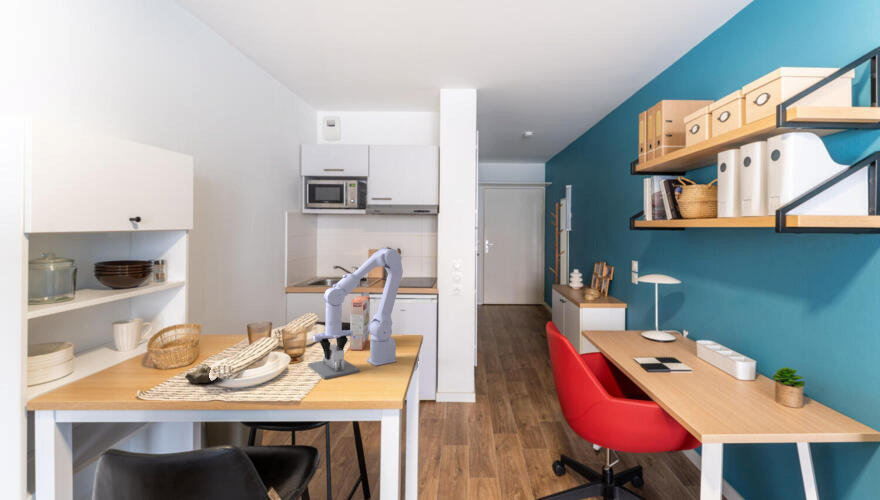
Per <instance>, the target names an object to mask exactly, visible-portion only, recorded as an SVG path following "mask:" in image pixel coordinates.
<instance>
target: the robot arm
mask: <svg viewBox="0 0 880 500" xmlns="http://www.w3.org/2000/svg"><path fill="white" fill-rule="evenodd" d="M402 258H403V257H402V256H401V254H400V252H399V251H398V250H397V249H395V248H387V247H380V248H379V249H378V250H377V251H375V252H374V253H373V254H371V256H370V257H369V258H368V259H367V260H366V261H365V262H363V263H362V264H361V265H360V266H359V267H358V268H357V269H356V270H355V271H354V272H353V273H346V274H344V275H342V278H341V279H340V280H339V281H338V282H336V283H334V284H333V285H332V287H329V288H328V289H326V290H325V291H324V294H323V296H322V297H323V299H324V301H325V324H324V325H325V326H324V327H325V332H323V333H322V332H320V333H318V334H313V335H312V341H313V342H315V343H316V342H319V344H320V345H321V348H322V350H323V353H324V354H325V359H327V360H329V357H330V355H329V350H330V345H332V344H331V342H330V340H333V339H336V345H337V346H339V347H340V348H342V349H343V350H344V348H345V346H346V344H347V343H348V337H350V336H353V331H352V330H350V329H346V330H345V329H344V330H343V329H342V328H343V325H342V323H343V319H342V317H343V314H342V313H343V310H342V309H343V308H342V306H343V305H342V304H343V303H344V301H345V298H346V297H347V296H348V295H349V294H350V293H351V292H352V291H354V290H355V289H356V288H357V287H358V286H359V284H360V280H361V279H363V278H364V277H366V275H367V274H369V273H370V272H371V271H373V270H374V269H375V268H377V267H383V268H384V269H385V270H386V272H387V277H386V281H385V284H384V287H383V292H382V295H381V297H380V301H379V306H378V309H377V312H376V313H375V314H374V315H373V317H372V319H371V321H369V326H368V331H369V333H370V337H369V338H370V342H369V344H370V345H369V347H370V348H369V351H370V356H369V357H368V358H366V359H365V361H366V362H368V363H370V364H372V365H373V366H376V367H377V366H381V365H385V364H391V363H395V362H397V358H396V357H397V356H396V355H397V353H396V351H397V348H396V347H397V346H396V345H397V343H396V340H395V338H393V336H392V333H393V328H392V326H393V320H392V313H393V309H394V305H395V302H396V299H397V295H398V293H399V292H398V291H399V288H400V286H401V281H402V278H403V272H404V271H403V269H404V268H403V265H402V260H403V259H402Z"/></svg>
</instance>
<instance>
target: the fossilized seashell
mask: <svg viewBox="0 0 880 500" xmlns="http://www.w3.org/2000/svg"><path fill="white" fill-rule="evenodd" d="M211 368H212V367H211V366H209V365H208V364H206V363H202V364H201V365H200V366H197V367H196V369H195V371H192V372H189V373H186V375H185V376H184V378H185V379H186V380H188V382H190V383H192V384H200V383H207V384H208V383H211V380H210V378H209V373H210V370H211Z"/></svg>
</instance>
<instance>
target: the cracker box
mask: <svg viewBox="0 0 880 500" xmlns="http://www.w3.org/2000/svg"><path fill="white" fill-rule="evenodd" d="M370 299H371V298H370V296H367V295H365V296H364V295H362V296H361V295H360V296H359V295H358V296H356V297H355V298H354V299H352V300H351V301H350V320H349V321H350V327H349V328H350V329H349V330H352V331H353V336H349V350H350V351H363V350H364V348H365V347H366V345H367V344H368V343H369V338H370V337H369V336H370V335H369V331H368V326H369V324H370V301H371V300H370Z"/></svg>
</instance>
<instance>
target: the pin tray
mask: <svg viewBox="0 0 880 500" xmlns="http://www.w3.org/2000/svg"><path fill="white" fill-rule="evenodd" d="M324 359H325V354H324V352H323V354H322V360H321V361H314V362H309V363H307V367H308V368H310V369H311V370H312V371H313V370H314V371H313V372H314V373H316V372H317V373H318V374H319V375H321V376H322V377H321V376H320V377H321V378H322V379H323V380H325V381H326V380H328V379H333V378H338V377H343V376H347V375H352V374H355V373H360V368H359V367H357V366H355V365H354V364H352V363H350V362H349V361H347V360H346V359H344V360H341V367H338V361H335V368H332V367H330V366H329V365H328V364H327V363H325V362H324ZM317 373H316V374H317ZM318 374H317V375H318ZM319 375H318V376H319Z"/></svg>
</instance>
